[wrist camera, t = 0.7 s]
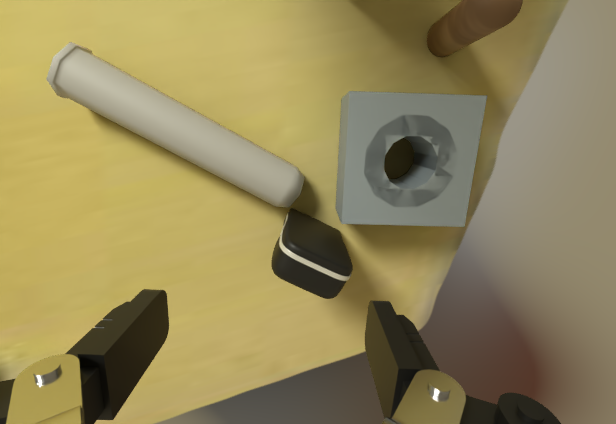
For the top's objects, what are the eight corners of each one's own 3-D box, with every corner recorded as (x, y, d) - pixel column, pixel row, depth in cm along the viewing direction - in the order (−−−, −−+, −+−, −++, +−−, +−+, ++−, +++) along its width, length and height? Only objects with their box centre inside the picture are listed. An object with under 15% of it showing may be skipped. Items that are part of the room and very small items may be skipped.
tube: (316, 168, 30) (69, 30, 26) (292, 215, 30) (36, 81, 26) (307, 176, 35) (100, 62, 32) (286, 216, 35) (73, 105, 31)
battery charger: (275, 233, 36) (262, 278, 25) (289, 205, 35) (282, 239, 24) (327, 257, 37) (337, 312, 26) (342, 231, 36) (359, 276, 25)
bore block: (341, 98, 32) (349, 91, 26) (454, 101, 32) (487, 95, 26) (335, 208, 35) (341, 223, 29) (438, 211, 35) (464, 226, 29)
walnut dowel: (429, 18, 30) (479, -28, 21) (463, 20, 30) (527, -26, 21) (424, 56, 31) (471, 27, 22) (457, 57, 31) (517, 28, 22)
